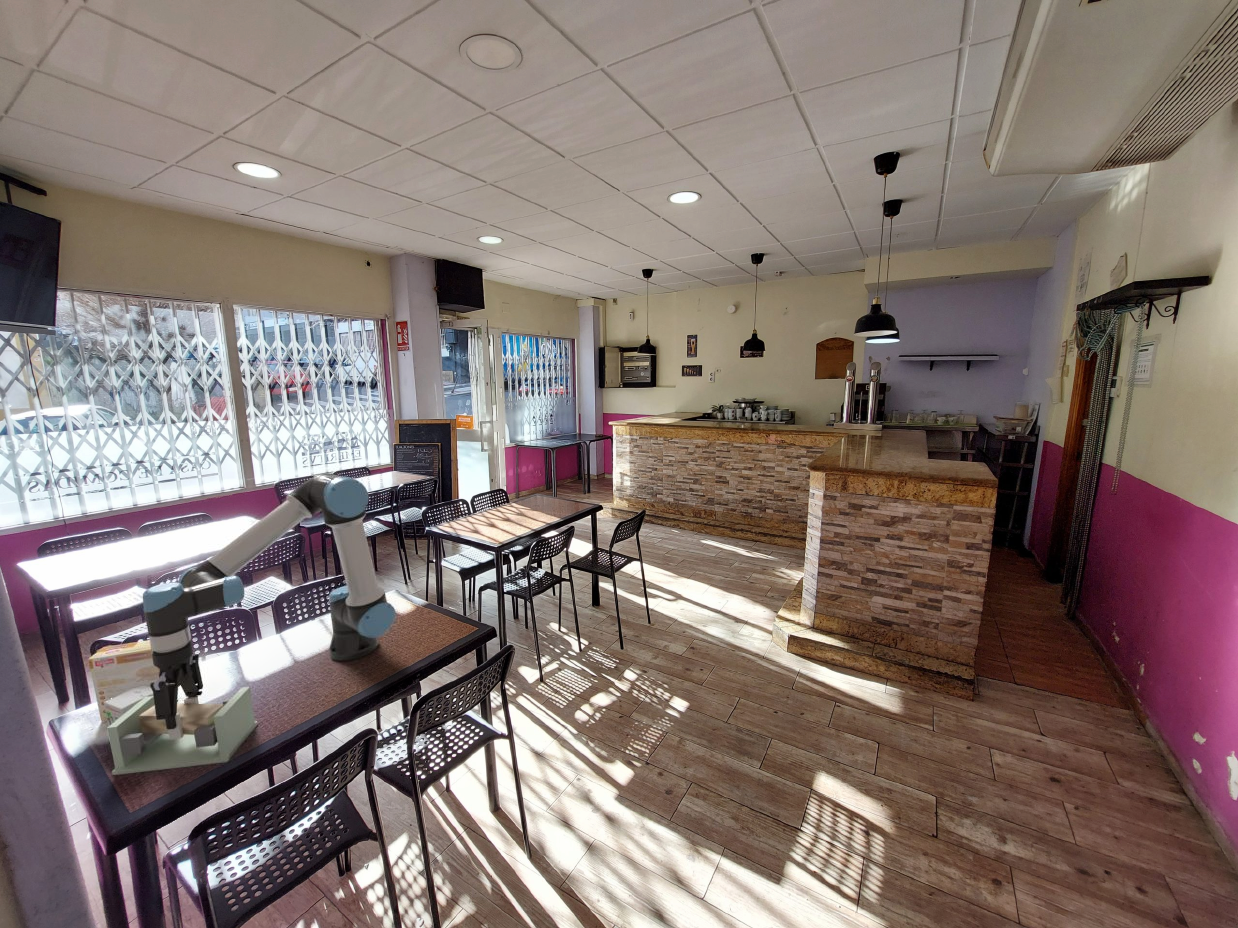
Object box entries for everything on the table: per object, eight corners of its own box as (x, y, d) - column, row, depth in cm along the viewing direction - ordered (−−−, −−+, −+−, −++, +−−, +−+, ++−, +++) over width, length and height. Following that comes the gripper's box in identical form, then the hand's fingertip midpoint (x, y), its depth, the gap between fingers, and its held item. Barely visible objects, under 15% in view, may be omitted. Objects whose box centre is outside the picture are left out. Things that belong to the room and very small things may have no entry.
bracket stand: (257, 723, 138) (251, 684, 136) (226, 761, 125) (219, 718, 123) (156, 734, 134) (148, 694, 132) (112, 774, 121) (103, 730, 119)
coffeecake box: (178, 696, 151) (167, 636, 148) (167, 710, 144) (155, 648, 141) (115, 707, 146) (102, 646, 143) (100, 723, 139) (86, 659, 136)
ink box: (110, 741, 132) (102, 701, 130) (149, 720, 140) (142, 682, 138) (129, 749, 129) (121, 708, 127) (168, 727, 137) (161, 689, 135)
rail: (226, 721, 130) (223, 704, 129) (210, 735, 125) (206, 717, 125) (161, 719, 131) (158, 702, 130) (142, 733, 126) (138, 715, 126)
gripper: (181, 628, 133) (194, 707, 137) (123, 667, 115) (140, 757, 119) (212, 626, 134) (224, 704, 138) (160, 664, 116) (175, 753, 120)
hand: (185, 728), depth 128 cm, fingers closed on rail, 6 cm apart
